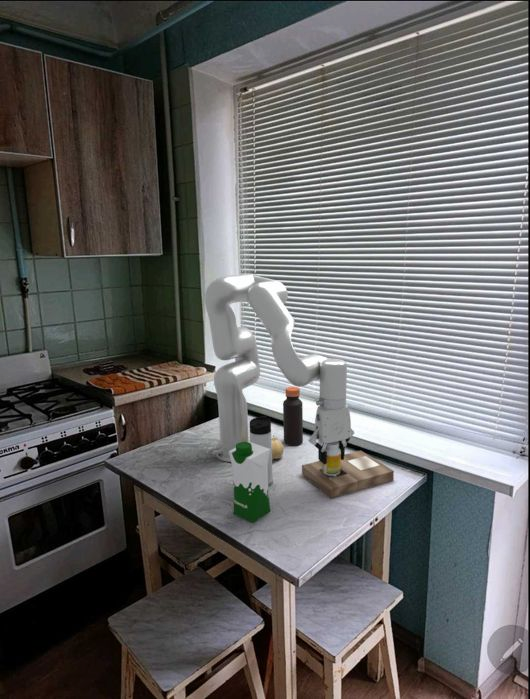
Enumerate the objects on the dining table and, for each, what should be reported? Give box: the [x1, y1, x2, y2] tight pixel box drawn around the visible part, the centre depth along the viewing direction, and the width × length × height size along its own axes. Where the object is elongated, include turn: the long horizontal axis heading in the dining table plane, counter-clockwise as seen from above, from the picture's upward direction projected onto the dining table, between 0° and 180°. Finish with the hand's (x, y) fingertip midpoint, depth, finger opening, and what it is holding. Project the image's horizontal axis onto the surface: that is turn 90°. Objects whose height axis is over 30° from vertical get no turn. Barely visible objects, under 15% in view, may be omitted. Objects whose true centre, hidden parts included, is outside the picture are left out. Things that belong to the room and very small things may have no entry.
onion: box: [271, 434, 285, 461], centre depth 155 cm, size 8×8×7 cm
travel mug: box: [249, 415, 274, 488], centre depth 137 cm, size 6×7×20 cm
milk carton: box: [229, 441, 271, 524], centre depth 122 cm, size 9×9×20 cm
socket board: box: [301, 449, 395, 500], centre depth 141 cm, size 22×16×3 cm
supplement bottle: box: [322, 441, 341, 477], centre depth 138 cm, size 5×5×10 cm
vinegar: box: [282, 386, 304, 447], centre depth 165 cm, size 7×7×20 cm
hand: (331, 459), depth 138 cm, fingers closed on supplement bottle, 5 cm apart
